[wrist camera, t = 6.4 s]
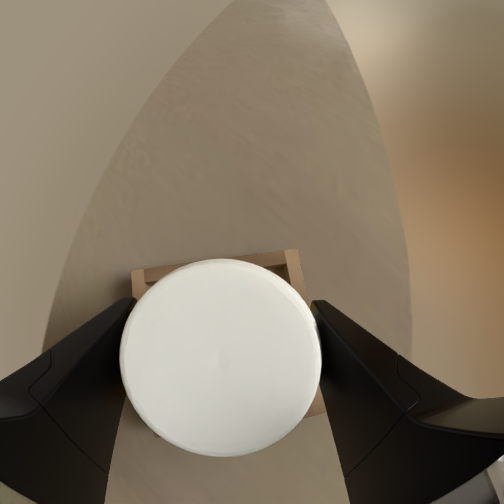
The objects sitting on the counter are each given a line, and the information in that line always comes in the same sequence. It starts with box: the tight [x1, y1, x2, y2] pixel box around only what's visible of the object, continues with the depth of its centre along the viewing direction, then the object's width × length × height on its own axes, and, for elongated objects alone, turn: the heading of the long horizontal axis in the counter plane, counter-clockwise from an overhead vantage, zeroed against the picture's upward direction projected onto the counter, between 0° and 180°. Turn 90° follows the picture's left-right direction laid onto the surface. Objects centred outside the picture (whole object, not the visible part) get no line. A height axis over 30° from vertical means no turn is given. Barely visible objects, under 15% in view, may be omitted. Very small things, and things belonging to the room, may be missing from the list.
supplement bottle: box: [119, 259, 322, 457], centre depth 10 cm, size 6×6×10 cm
